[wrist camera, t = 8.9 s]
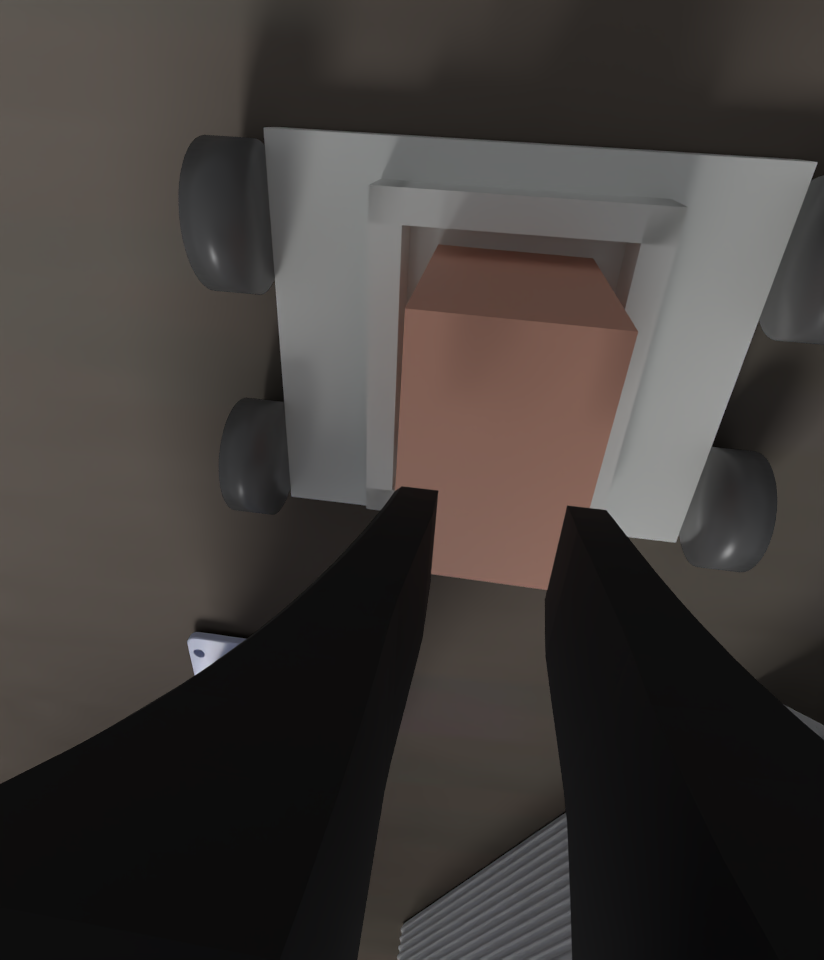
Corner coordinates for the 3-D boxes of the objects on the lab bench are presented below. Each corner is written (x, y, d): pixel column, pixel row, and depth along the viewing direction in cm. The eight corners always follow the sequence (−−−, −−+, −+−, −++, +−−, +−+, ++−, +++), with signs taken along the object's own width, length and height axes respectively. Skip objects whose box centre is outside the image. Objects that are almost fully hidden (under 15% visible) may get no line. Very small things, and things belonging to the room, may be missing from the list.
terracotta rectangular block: (549, 459, 18) (566, 592, 13) (422, 444, 18) (391, 568, 13) (593, 258, 15) (638, 331, 10) (437, 244, 15) (405, 307, 10)
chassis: (704, 528, 20) (740, 603, 17) (267, 477, 21) (228, 537, 18) (851, 162, 14) (947, 175, 11) (232, 124, 15) (165, 125, 12)
